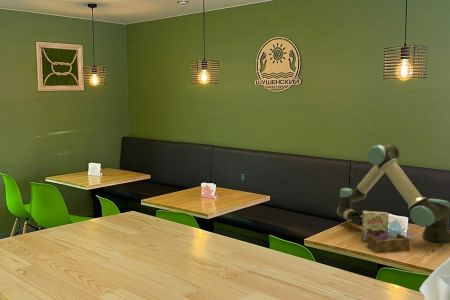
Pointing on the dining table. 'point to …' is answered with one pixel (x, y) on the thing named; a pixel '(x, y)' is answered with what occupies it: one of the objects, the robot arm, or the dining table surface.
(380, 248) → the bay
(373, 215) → the candy box
